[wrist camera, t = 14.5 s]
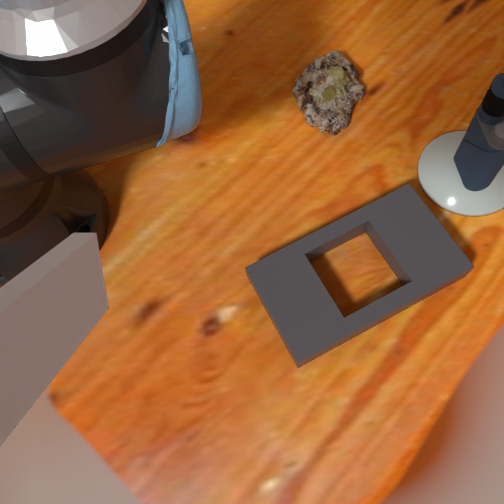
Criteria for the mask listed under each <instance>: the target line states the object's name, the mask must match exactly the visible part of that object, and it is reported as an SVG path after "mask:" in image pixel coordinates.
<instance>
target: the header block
mask: <svg viewBox="0 0 504 504" xmlns="http://www.w3.org/2000/svg"><path fill="white" fill-rule="evenodd" d="M364 232H366V233H367V235H368V236H369V237H370V239H371V240H372V242H373V243H374V244H375V246H376V247H377V249H378V250H379V252H380V253H381V254H382V256H383V257H384V259H385V260H386V262H387V263H388V264H389V266H390V267H391V269H392V270H393V272H394V273H395V274H396V276H397V277H398V279H399V280H400V282H401V283H402V284H403V286H402V287H400V288H398V289H397V290H395V291H393V292H391V293H389V294H387V295H385V296H384V297H382V298H380V299H378V300H376V301H374V302H373V303H371V304H369V305H367V306H365V307H363V308H361V309H360V310H358V311H356V312H354V313H352V314H350V315H348V316H347V317H345V318H344V317H343V315H342V314H341V312H340V310H339V309H338V307H337V306H336V304H335V302H334V301H333V299H332V297H331V296H330V294H329V293H328V291H327V289H326V288H325V286H324V285H323V283H322V281H321V280H320V278H319V277H318V275H317V273H316V272H315V270H314V269H313V267H312V265H311V264H310V262H309V261H311V260H313V259H314V258H316V257H318V256H320V255H322V254H324V253H326V252H328V251H330V250H332V249H334V248H336V247H337V246H339V245H341V244H343V243H345V242H347V241H349V240H351V239H353V238H355V237H357V236H359V235H360V234H362V233H364ZM473 268H474V265H473V264H472V263H471V261H470V260H469V259H468V258H467V256H466V255H465V254H464V253H463V251H462V250H461V249H460V247H459V246H458V245H457V244H456V242H455V241H454V240H453V239H452V237H451V236H450V235H449V234H448V232H447V231H446V230H445V228H444V227H443V226H442V225H441V223H440V222H439V221H438V220H437V218H436V217H435V216H434V214H433V213H432V212H431V211H430V209H429V208H428V207H427V206H426V204H425V203H424V202H423V200H422V199H421V198H420V197H419V195H418V194H417V193H416V192H415V190H414V189H413V188H412V187H411V185H410V184H409V183H408V184H407V185H405V186H403V187H401V188H399V189H397V190H395V191H393V192H391V193H389V194H387V195H385V196H383V197H381V198H379V199H377V200H375V201H374V202H372V203H370V204H368V205H366V206H364V207H362V208H360V209H358V210H356V211H354V212H352V213H350V214H348V215H346V216H344V217H342V218H341V219H339V220H337V221H335V222H333V223H331V224H329V225H327V226H325V227H323V228H321V229H319V230H317V231H315V232H313V233H311V234H309V235H308V236H306V237H304V238H302V239H300V240H298V241H296V242H294V243H292V244H290V245H288V246H286V247H284V248H282V249H280V250H278V251H276V252H275V253H273V254H271V255H269V256H267V257H265V258H263V259H261V260H259V261H257V262H255V263H253V264H251V265H249V266H247V267H245V270H246V273H247V276H248V278H249V280H250V282H251V284H252V286H253V288H254V289H255V291H256V293H257V295H258V297H259V298H260V300H261V302H262V304H263V306H264V308H265V309H266V311H267V313H268V315H269V317H270V318H271V320H272V322H273V324H274V326H275V327H276V329H277V331H278V333H279V335H280V337H281V338H282V340H283V342H284V344H285V346H286V347H287V349H288V351H289V353H290V355H291V357H292V358H293V360H294V362H295V364H296V366H297V367H298V368H299V367H301V366H303V365H304V364H306V363H308V362H310V361H312V360H314V359H315V358H317V357H319V356H321V355H323V354H325V353H326V352H328V351H330V350H332V349H334V348H336V347H337V346H339V345H341V344H343V343H345V342H347V341H348V340H350V339H352V338H354V337H356V336H358V335H359V334H361V333H363V332H365V331H367V330H369V329H370V328H372V327H374V326H376V325H378V324H379V323H381V322H383V321H385V320H387V319H389V318H390V317H392V316H394V315H396V314H398V313H400V312H401V311H403V310H405V309H407V308H409V307H411V306H412V305H414V304H416V303H418V302H420V301H422V300H423V299H425V298H427V297H429V296H431V295H433V294H434V293H436V292H438V291H440V290H442V289H444V288H445V287H447V286H449V285H451V284H453V283H454V282H456V281H458V280H460V279H462V278H464V277H465V276H466V275H467V274H468V273H469V272H470V271H471V270H472V269H473Z"/></svg>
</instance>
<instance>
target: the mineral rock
mask: <svg viewBox="0 0 504 504" xmlns="http://www.w3.org/2000/svg"><path fill="white" fill-rule="evenodd" d="M359 76H360V74H359V72H358V70H357V69H356V68H355V67H354V66H353V64H350V62H349V61H348V60H347V59H346V58H345V57H344V56H343V55H342V54H341V53H340V52H339V51H336V50H335V51H330V53H329V54H326V55H324V56H322V57H321V58H315V59H314V61H313V62H311V64H309V65H308V66H307V67H306V68H304V70H303V73H302V75H301V76H300V78H299V77H297V79H296V80H295V82H296V86H294V87H293V88H292V92H294V94H295V98H297V103H298V106H299V108H301V112H302V113H303V114H304V115H305V117H306V121H307V123H309V124H310V125H311V126H317V128H318V130H320V132H324V131H328V132H329V133H330V134H331V135H332V136H333V135H337V134H338V133H339V130H340V129H345V128H346V127H347V126H348V123H349V122H350V117H351V110H352V106H353V104H355V103H356V102H357V101H358V100H362V97H363V96H364V94H365V92H364V87H365V86H364V85H362V84H361V83H359V82H358V81H357V80H358V78H359Z"/></svg>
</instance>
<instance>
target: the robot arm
mask: <svg viewBox="0 0 504 504" xmlns="http://www.w3.org/2000/svg"><path fill="white" fill-rule="evenodd" d="M192 45H193V42H192V37H191V30H190V25H189V21H188V17H187V13H186V9H185V6H184V2H183V0H0V446H1V445H2V443H3V442H4V441H5V440H6V438H7V437H8V436H9V435H10V433H11V432H12V431H13V429H14V428H15V427H16V426H17V424H18V423H19V422H20V420H21V419H22V418H23V417H24V415H25V414H26V413H27V412H28V410H29V409H30V408H31V406H32V405H33V404H34V403H35V401H36V400H37V399H38V398H39V396H40V395H41V394H42V392H43V391H44V390H45V389H46V387H47V386H48V385H49V384H50V382H51V381H52V380H53V378H54V377H55V376H56V375H57V373H58V372H59V371H60V370H61V368H62V367H63V366H64V364H65V363H66V362H67V361H68V359H69V358H70V357H71V356H72V354H73V353H74V352H75V350H76V349H77V348H78V347H79V345H80V344H81V343H82V342H83V340H84V339H85V338H86V336H87V335H88V334H89V333H90V331H91V330H92V329H93V328H94V326H95V325H96V324H97V322H98V321H99V320H100V319H101V317H102V316H103V315H104V314H105V312H106V311H107V310H108V308H109V306H108V300H107V294H106V288H105V282H104V276H103V270H102V264H101V258H100V252H99V249H100V247H101V245H102V243H103V240H104V238H105V235H106V231H107V227H108V218H109V216H108V206H107V202H106V199H105V196H104V194H103V192H102V190H101V189H100V187H99V186H98V185H97V183H96V182H95V181H94V179H93V178H92V177H91V176H90V175H89V174H88V173H87V172H86V171H85V170H84V168H87V167H90V166H94V165H97V164H100V163H104V162H107V161H111V160H114V159H117V158H121V157H124V156H127V155H131V154H134V153H137V152H141V151H144V150H148V149H151V148H157V147H160V146H162V145H163V144H164V143H165V142H168V141H170V140H173V139H175V138H178V137H180V136H183V135H186V134H188V133H190V132H191V131H193V130H194V129H195V128H196V127H197V125H198V124H199V121H200V119H201V115H202V92H201V83H200V76H199V70H198V64H197V59H196V54H195V51H194V49H193V47H192Z"/></svg>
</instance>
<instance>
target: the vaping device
mask: <svg viewBox="0 0 504 504" xmlns="http://www.w3.org/2000/svg"><path fill="white" fill-rule="evenodd" d="M489 88H490V89H489V90H488V91H487V93H486V95H485V97H484V99H483V101H482V103H481V105H480V107H479V108H478V109H477V110H476V113H475V115H474V117H473V119H472V121H471V123H470V125H469V127H468V129H467V131H466V133H465V135H464V137H463V139H462V141H461V143H460V145H459V147H458V149H457V151H456V153H455V155H454V162H455V165H456V167H457V170H458V172H459V175H460V177H461V180H462V183H463V185H464V187H465V188H466V189H468V190H470V191H481V190H483V189H485V188H487V187H488V186H489V185H490V184H491V183H492V181H493V180H494V178H495V177H496V175H497V174H498V172H499V171H500V170H501V168H502V167H503V165H504V73H500V74H498V75H497V76H496V77H495V78H494V79H493V81H492V83H491V85H490V87H489Z"/></svg>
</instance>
